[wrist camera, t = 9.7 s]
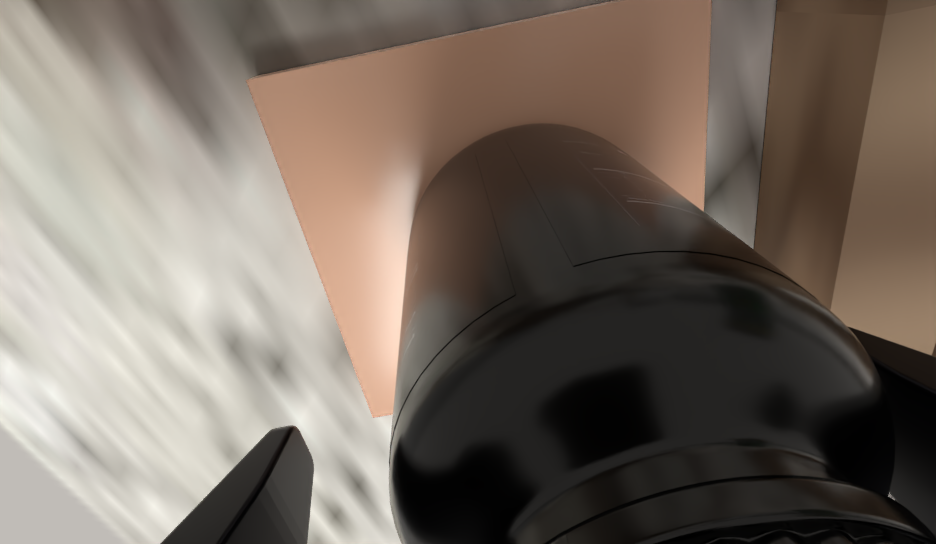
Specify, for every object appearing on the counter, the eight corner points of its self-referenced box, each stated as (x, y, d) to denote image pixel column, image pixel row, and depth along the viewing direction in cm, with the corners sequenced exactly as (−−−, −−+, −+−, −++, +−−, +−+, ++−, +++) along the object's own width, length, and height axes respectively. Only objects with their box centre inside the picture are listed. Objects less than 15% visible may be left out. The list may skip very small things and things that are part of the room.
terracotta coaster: (687, 345, 17) (697, 359, 17) (375, 401, 18) (372, 417, 17) (696, -17, 12) (712, -18, 12) (256, 75, 13) (245, 80, 12)
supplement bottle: (548, 371, 17) (737, 1016, 6) (365, 269, 15) (169, 986, 4) (704, 208, 14) (1477, 819, 4) (510, 56, 12) (1009, 463, 2)
